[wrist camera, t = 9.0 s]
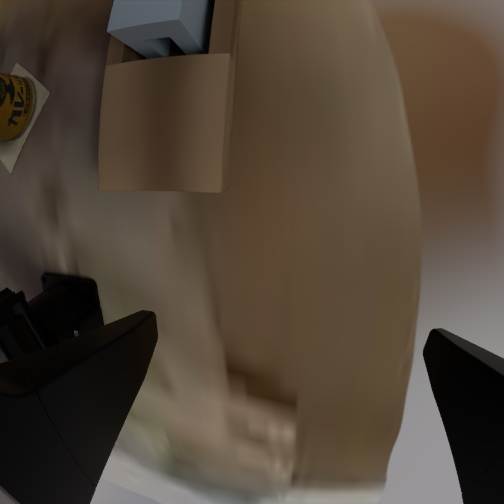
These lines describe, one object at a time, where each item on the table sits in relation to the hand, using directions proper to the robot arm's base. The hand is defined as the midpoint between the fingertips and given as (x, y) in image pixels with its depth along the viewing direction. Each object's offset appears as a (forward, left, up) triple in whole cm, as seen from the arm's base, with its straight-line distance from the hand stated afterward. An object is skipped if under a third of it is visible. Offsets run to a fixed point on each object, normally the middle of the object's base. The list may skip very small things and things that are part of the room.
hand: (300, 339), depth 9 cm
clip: (-8, +14, -12) cm, 20 cm away
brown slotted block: (-8, +13, -12) cm, 19 cm away
